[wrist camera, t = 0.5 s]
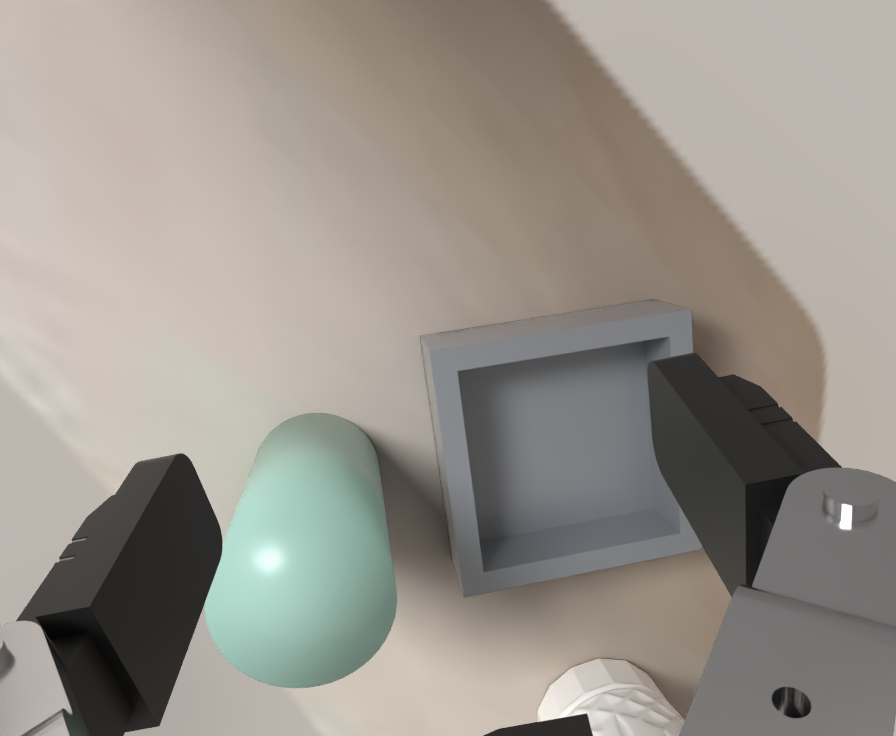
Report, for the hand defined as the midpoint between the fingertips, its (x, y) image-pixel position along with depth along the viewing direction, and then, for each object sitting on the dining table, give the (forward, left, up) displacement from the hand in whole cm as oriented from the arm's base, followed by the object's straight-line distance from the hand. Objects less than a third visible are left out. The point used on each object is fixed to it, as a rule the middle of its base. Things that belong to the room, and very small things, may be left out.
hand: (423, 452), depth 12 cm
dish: (+7, +7, -19) cm, 21 cm away
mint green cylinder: (+7, -4, -19) cm, 20 cm away
